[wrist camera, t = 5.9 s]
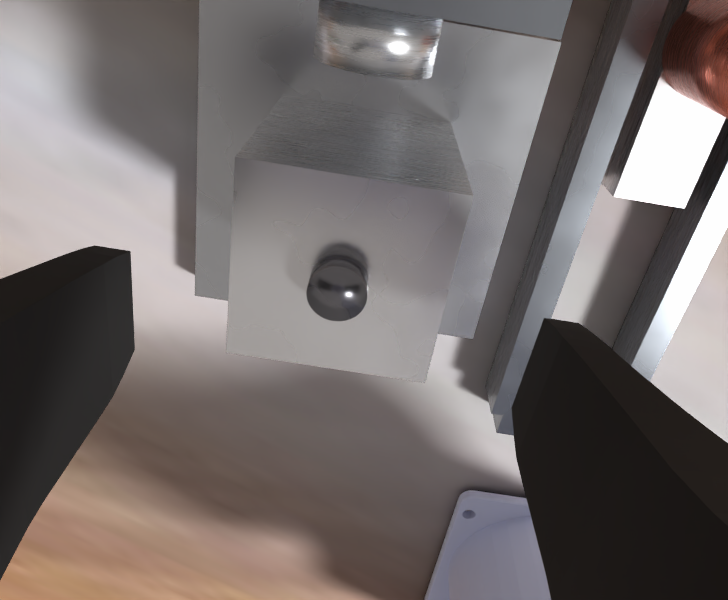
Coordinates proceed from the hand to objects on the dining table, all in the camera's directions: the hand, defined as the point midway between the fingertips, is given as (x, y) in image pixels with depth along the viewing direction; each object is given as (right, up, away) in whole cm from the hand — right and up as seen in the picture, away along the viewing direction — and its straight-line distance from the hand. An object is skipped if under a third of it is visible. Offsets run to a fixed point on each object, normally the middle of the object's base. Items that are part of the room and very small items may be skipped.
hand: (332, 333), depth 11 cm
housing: (0, +4, +7) cm, 8 cm away
